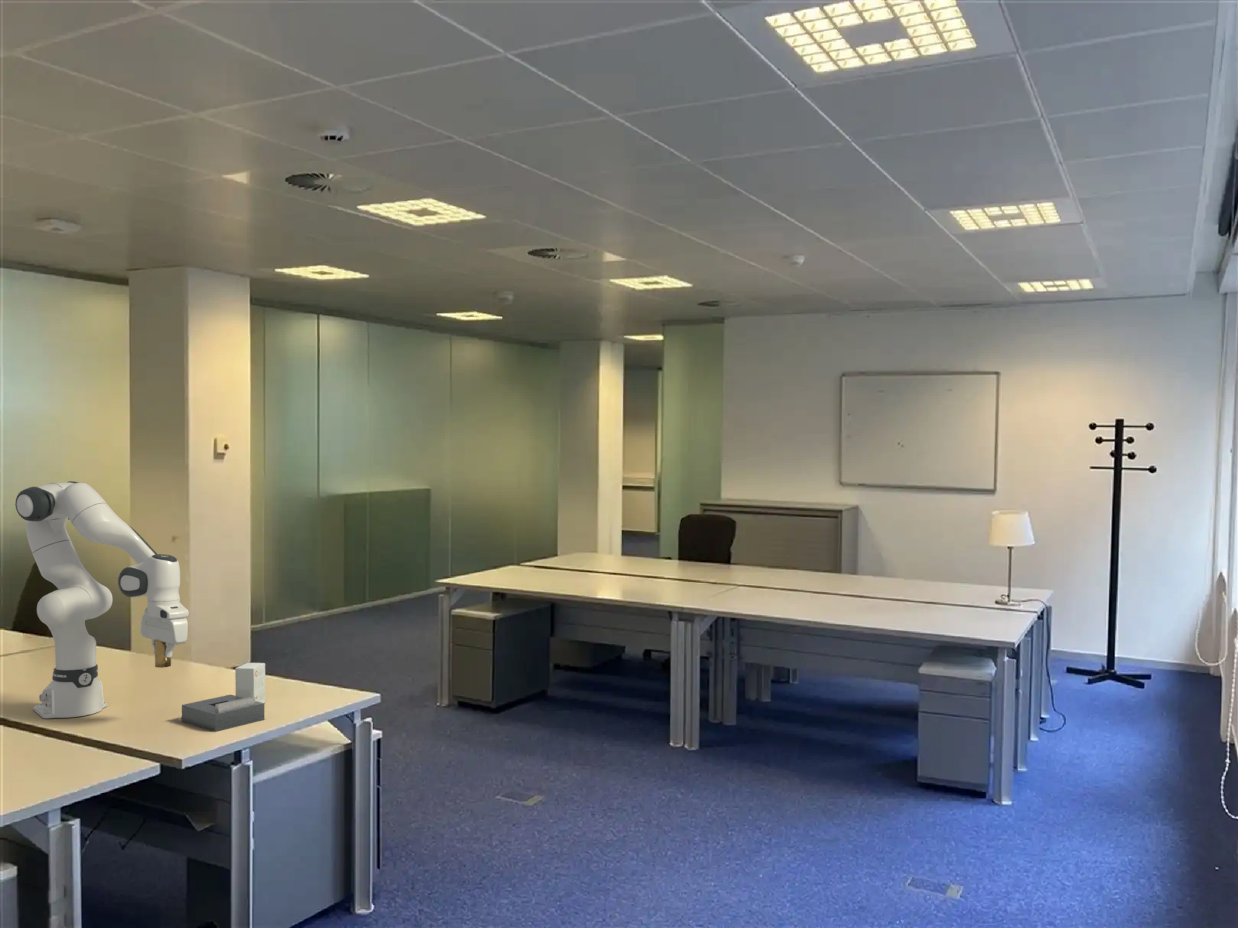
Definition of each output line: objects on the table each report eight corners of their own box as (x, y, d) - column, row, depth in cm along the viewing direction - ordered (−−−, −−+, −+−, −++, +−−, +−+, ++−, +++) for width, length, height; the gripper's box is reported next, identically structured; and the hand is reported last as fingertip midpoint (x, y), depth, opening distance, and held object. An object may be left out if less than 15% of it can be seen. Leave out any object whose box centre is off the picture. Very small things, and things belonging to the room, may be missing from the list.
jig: (181, 721, 292) (181, 698, 292) (230, 710, 305) (230, 688, 304) (215, 731, 281) (215, 707, 281) (264, 719, 294) (264, 696, 294)
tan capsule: (151, 666, 290) (152, 639, 290) (166, 663, 293) (166, 637, 293) (159, 668, 287) (160, 641, 287) (174, 665, 291) (174, 639, 291)
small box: (246, 702, 314) (246, 662, 314) (265, 702, 314) (265, 662, 314) (234, 708, 306) (234, 667, 306) (254, 709, 306) (254, 668, 306)
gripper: (135, 606, 293) (134, 652, 294) (171, 614, 281) (170, 661, 282) (155, 604, 299) (155, 649, 299) (192, 611, 286) (191, 658, 287)
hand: (163, 655), depth 290 cm, fingers closed on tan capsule, 4 cm apart
